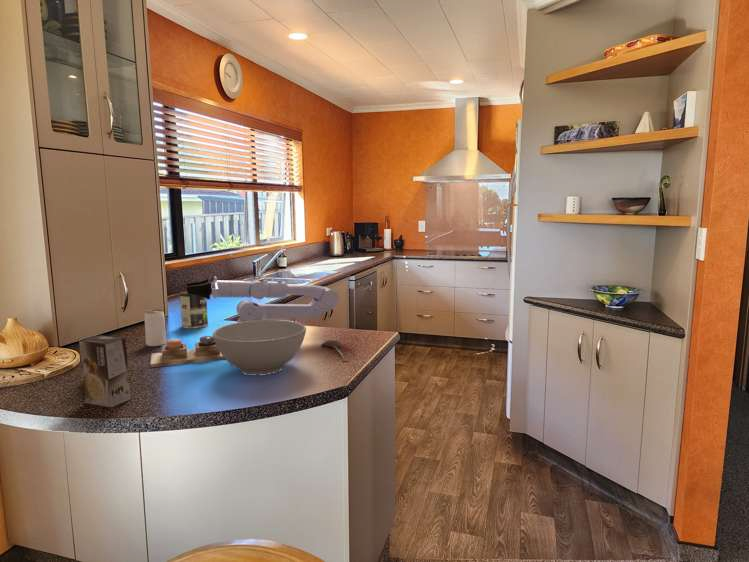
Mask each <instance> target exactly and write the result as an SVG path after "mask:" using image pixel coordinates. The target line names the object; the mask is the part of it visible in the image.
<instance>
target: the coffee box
mask: <svg viewBox="0 0 749 562" xmlns="http://www.w3.org/2000/svg"><path fill="white" fill-rule="evenodd" d="M78 342H79V351H80V352H79V354H80V362H81V364H80V365H81V373H82V381H83V382H82V383H83V390H84V402H85V404H89V405H96V406H101V407H107V408H114V407H116V406H118V405H120V404H123V403H125V402H128V401H130V400H131V389H130V377H129V365H128V363H129V362H128V354H127V343H126V342H127V341H126V337H120V336H109V335H102V334H101V335H99V334H98V335H95V336H91V337H87V338H85V339H82V340H79V341H78Z"/></svg>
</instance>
